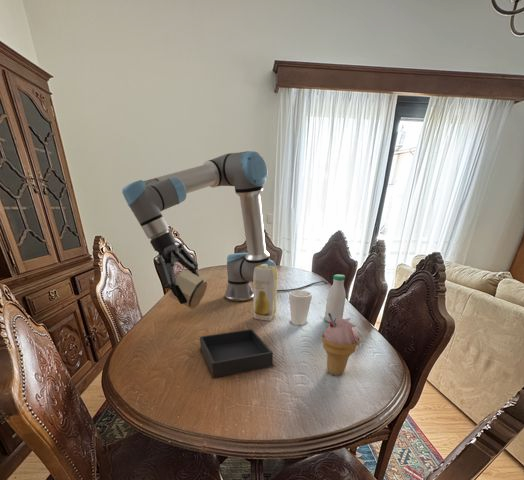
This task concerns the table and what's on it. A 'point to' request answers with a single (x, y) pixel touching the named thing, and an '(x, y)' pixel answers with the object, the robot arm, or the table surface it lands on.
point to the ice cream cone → (339, 344)
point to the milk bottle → (336, 299)
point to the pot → (190, 288)
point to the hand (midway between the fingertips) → (192, 295)
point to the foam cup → (299, 306)
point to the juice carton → (264, 292)
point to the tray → (235, 352)
